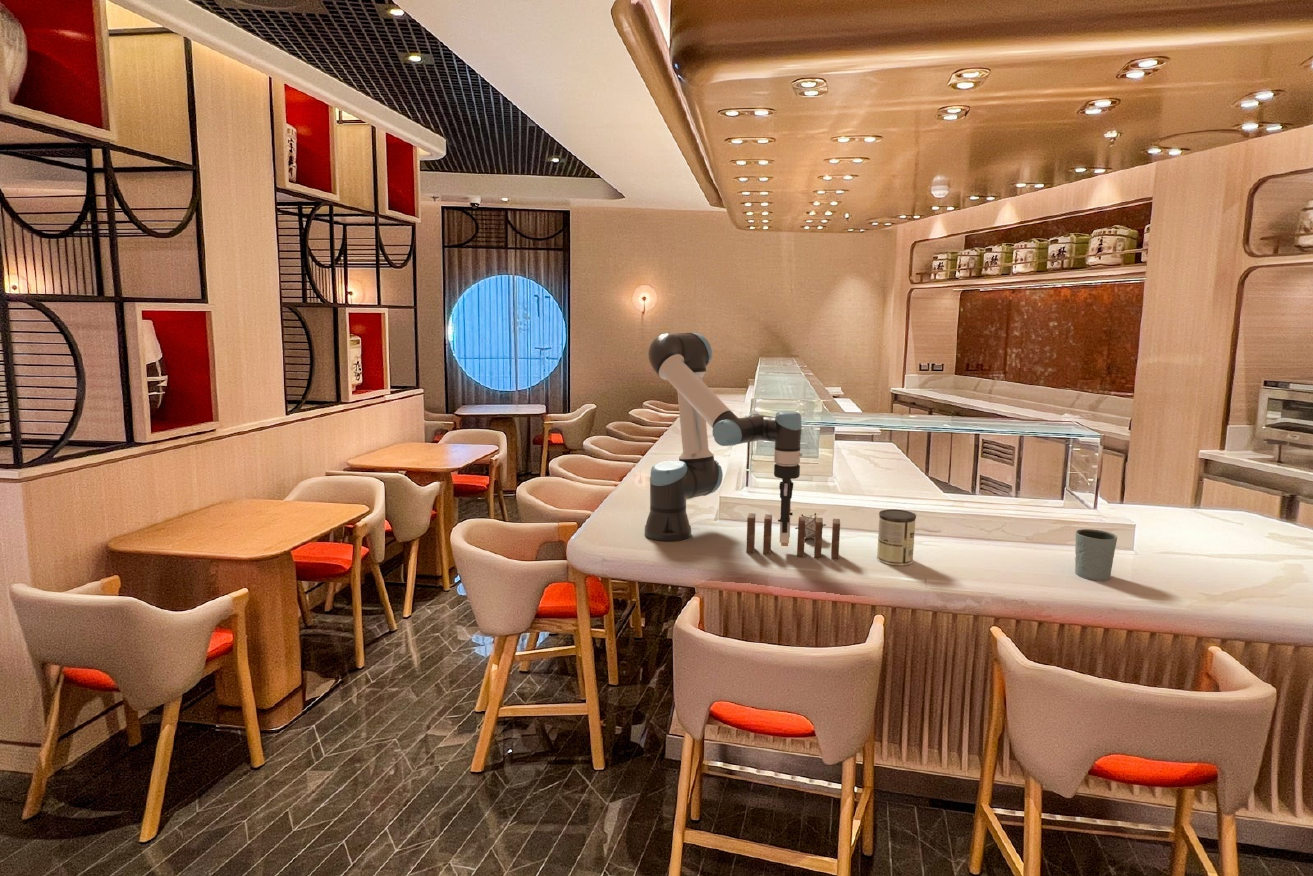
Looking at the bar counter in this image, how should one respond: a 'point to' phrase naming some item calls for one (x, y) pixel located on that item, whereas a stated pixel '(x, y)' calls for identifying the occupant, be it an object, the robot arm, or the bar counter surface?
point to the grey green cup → (1094, 554)
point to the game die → (810, 526)
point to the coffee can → (896, 537)
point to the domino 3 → (785, 543)
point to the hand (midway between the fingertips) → (784, 539)
